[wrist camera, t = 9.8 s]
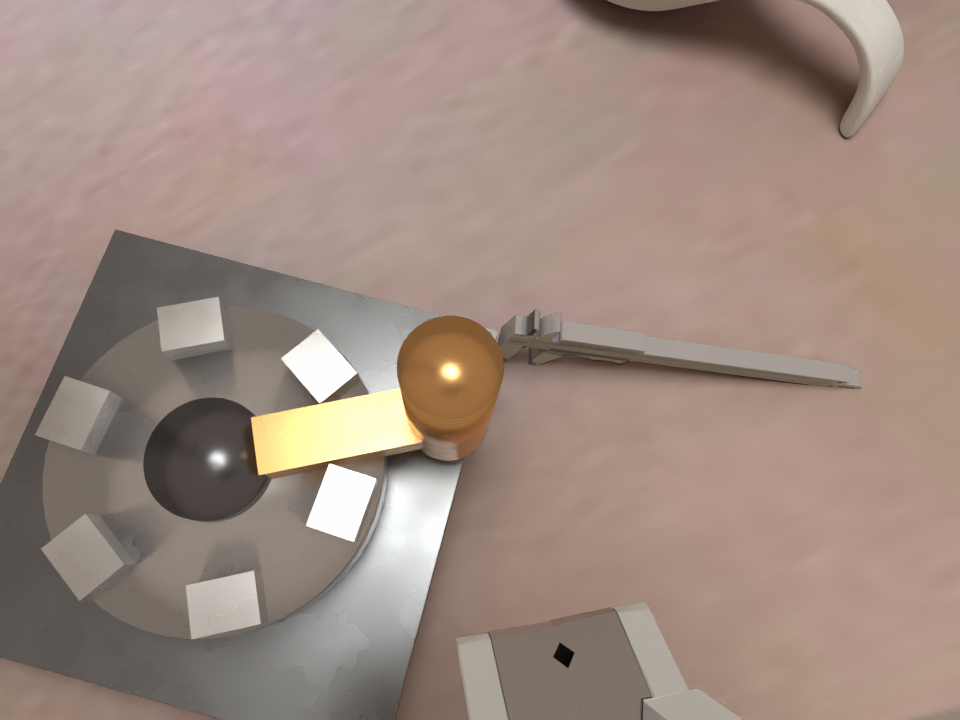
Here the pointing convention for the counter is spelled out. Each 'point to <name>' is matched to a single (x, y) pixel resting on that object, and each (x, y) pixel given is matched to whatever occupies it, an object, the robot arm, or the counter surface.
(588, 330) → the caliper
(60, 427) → the rotary crank dial
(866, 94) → the spoon rest
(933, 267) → the counter surface
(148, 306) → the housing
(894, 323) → the counter surface
